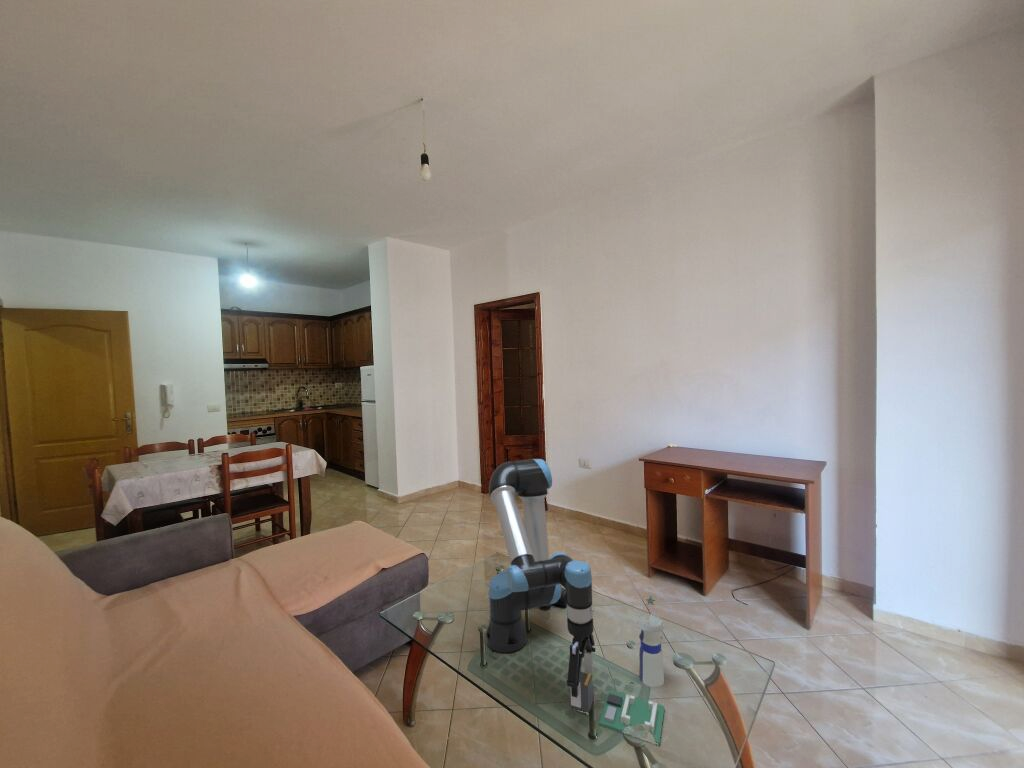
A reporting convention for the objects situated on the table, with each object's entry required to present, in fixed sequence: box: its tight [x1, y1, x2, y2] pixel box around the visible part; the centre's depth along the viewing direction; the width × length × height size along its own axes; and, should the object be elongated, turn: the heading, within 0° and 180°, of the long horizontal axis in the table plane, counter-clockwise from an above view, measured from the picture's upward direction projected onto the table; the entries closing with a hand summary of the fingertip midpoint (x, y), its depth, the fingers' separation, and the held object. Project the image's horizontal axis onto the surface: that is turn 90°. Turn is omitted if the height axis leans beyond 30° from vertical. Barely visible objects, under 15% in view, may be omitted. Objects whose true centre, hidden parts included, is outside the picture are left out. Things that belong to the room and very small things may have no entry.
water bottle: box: [635, 595, 665, 688], centre depth 133 cm, size 8×9×25 cm
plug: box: [571, 671, 594, 714], centre depth 123 cm, size 5×5×9 cm
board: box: [598, 689, 665, 745], centre depth 119 cm, size 16×13×3 cm
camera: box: [539, 586, 567, 611], centre depth 177 cm, size 16×10×10 cm, turn 144°
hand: (582, 688), depth 122 cm, fingers open, 13 cm apart
